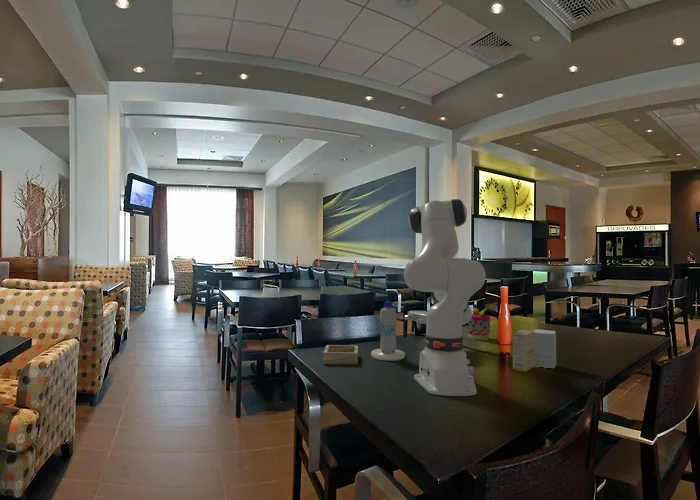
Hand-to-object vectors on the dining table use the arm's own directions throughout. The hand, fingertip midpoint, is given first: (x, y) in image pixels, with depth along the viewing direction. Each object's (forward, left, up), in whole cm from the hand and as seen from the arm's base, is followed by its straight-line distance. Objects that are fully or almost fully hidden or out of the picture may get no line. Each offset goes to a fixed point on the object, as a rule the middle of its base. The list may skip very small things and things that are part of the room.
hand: (412, 319), depth 163 cm
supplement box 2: (-16, -46, -14) cm, 50 cm away
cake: (+31, -36, -14) cm, 49 cm away
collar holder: (-12, +28, -14) cm, 34 cm away
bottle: (-6, +10, -12) cm, 17 cm away
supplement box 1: (-20, -37, -14) cm, 44 cm away
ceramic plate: (-6, +10, -14) cm, 18 cm away
